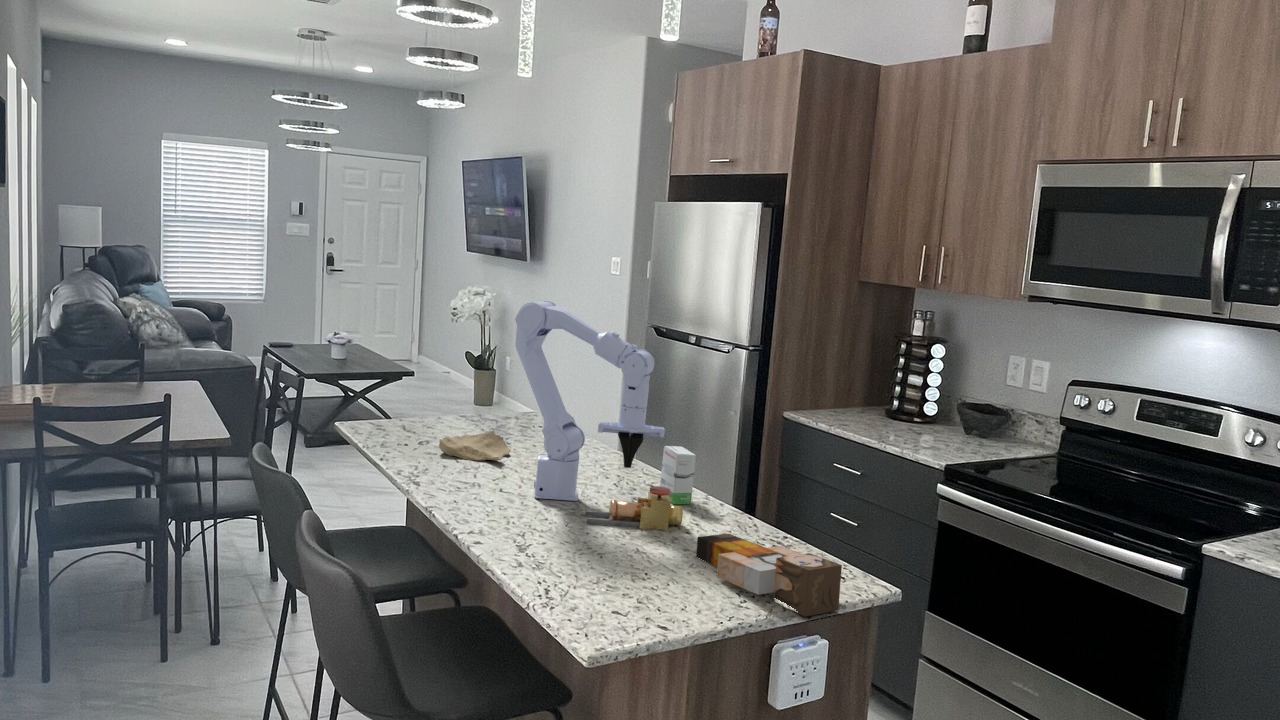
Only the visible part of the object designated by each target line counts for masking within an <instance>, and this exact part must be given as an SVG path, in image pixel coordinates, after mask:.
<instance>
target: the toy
mask: <svg viewBox="0 0 1280 720" xmlns="http://www.w3.org/2000/svg"><path fill="white" fill-rule="evenodd" d="M696 538H697V541H696V553H695V554H696V555H695V557H696V558H697V557H698V558H697V559H699V558H700V559H699V560H701V559H702V560H701V561H703V560H704V561H703V562H705V561H706V562H705V563H707V562H708V563H707V564H710V565H712V566H714V567H715V568H716V577H717V578H720V579H722V580H725V581H726V582H728V583H731V584H733V585H734V586H737V587H740V588H742V589H744V590H747V591H749V592H751V593H753V594H756V595H766V594H771V593H773V599H774V598H776V599H778V600H780V601H781V602H784V603H786V604H787V605H789V606H791V607H792V608H794V609H796V611H798V613H799V614H798V613H797V614H798V615H801V616H803V617H809V616H815V615H820V614H824V613H825V614H826V613H831V612H835V611H839V607H840V606H839V605H840V594H841V592H840V591H841V582H842V581H841V580H842V569H843V565H842V564H840V563H837V562H835V561H832V560H830V559H827V558H824V557H821V556H819V555H816V554H813V553H811V552H807V553H801V552H798V551H796V550H793V549H790V548H787V547H785V546H782V545H779V546H769V547H764V546H762V545H759V544H758V543H754V542H752V541H750V540H749V541H748V540H746V539H744V538H741V537H738V536H736V535H733V534H732V533H723V534H722V533H721V534H713V535H704V536H697V537H696Z"/></svg>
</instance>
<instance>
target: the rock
mask: <svg viewBox="0 0 1280 720" xmlns="http://www.w3.org/2000/svg"><path fill="white" fill-rule="evenodd" d="M438 447H439V449H440V450H441V451H442V452H443V453H444V454H445V455H447V456H449V457H456V458H460V459H463V460H467V461H468V460H469V461H474V462H475V461H476V462H481V461H486V460H489V461H500V460H502V459H503V457H506V456H507V455H510V452H511V449H510V448H509V447H508V445H507V443H506V441H505V440H504V437H503V436H501V435H500V434H496V433H495V431H493V430H492V431H491V430H490V431H485V432H482V433H477V434H462V435H461V436H459V435H455V436H454V437H451V436H449V435H446V436H445V437H443V438H442V439H439V444H438Z"/></svg>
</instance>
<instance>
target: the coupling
mask: <svg viewBox="0 0 1280 720" xmlns="http://www.w3.org/2000/svg"><path fill="white" fill-rule="evenodd" d="M641 507H649V503H648V502H643V503H637V501H636V502H634V501H621V500H617V499H610V501H609V509H608V512H609V518H608V519H609V520H624V521H638V522H640V515H641Z"/></svg>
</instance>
